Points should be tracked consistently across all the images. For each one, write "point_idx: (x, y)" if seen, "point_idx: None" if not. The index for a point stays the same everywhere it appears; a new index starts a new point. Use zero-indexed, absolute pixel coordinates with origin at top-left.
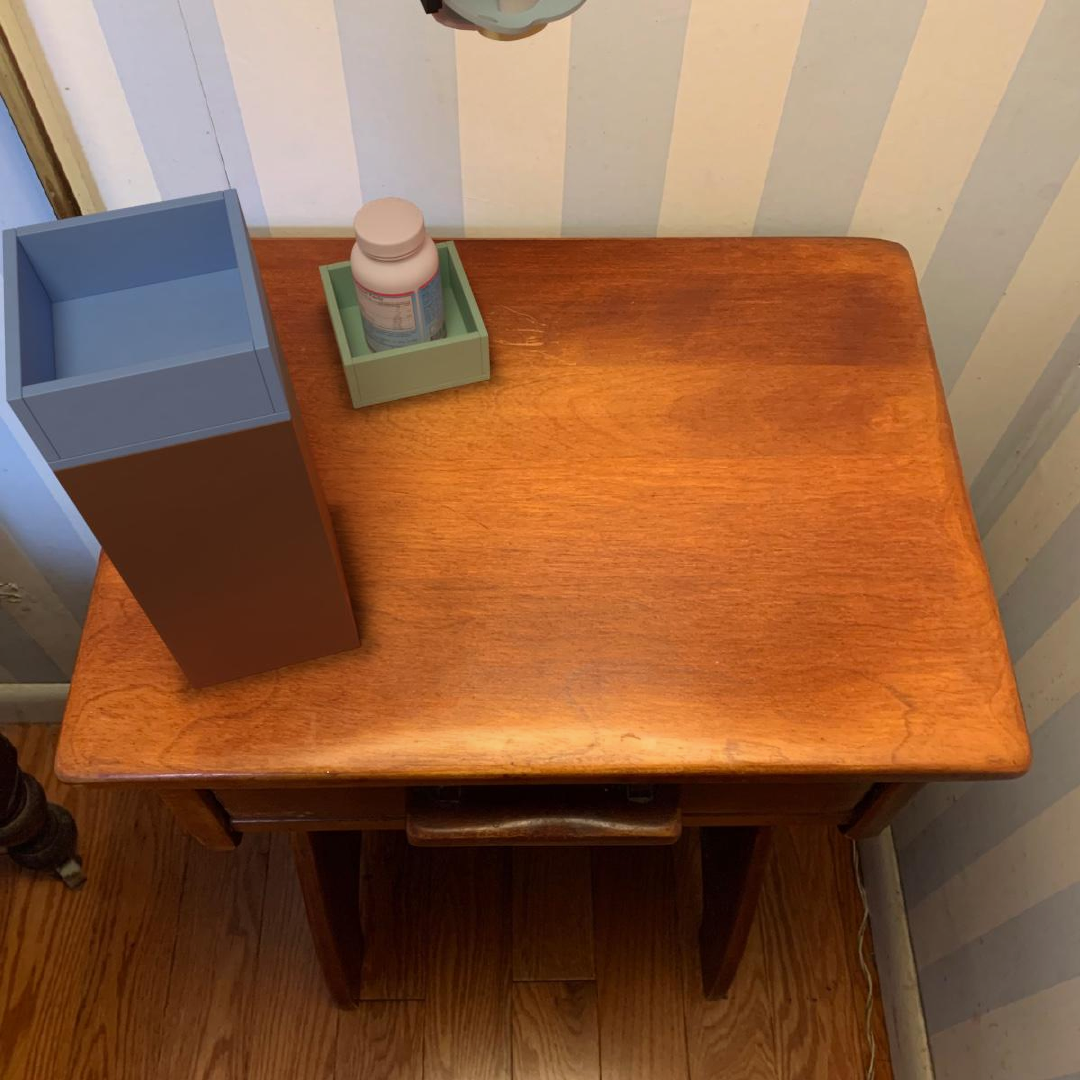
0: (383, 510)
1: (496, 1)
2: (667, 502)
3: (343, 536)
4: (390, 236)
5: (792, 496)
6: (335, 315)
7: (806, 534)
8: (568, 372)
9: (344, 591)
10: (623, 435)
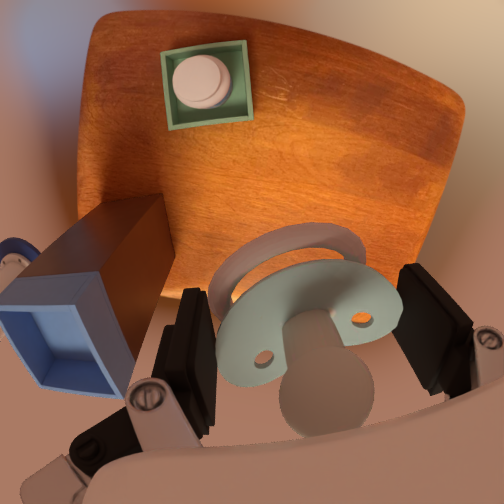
0: (186, 193)
1: (284, 313)
2: (320, 213)
3: (168, 204)
4: (195, 94)
5: (372, 221)
6: (166, 91)
7: (368, 240)
8: (296, 123)
9: (166, 274)
10: (312, 170)
